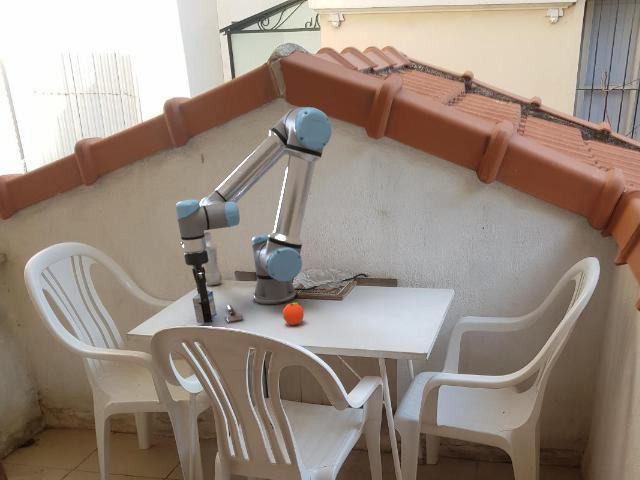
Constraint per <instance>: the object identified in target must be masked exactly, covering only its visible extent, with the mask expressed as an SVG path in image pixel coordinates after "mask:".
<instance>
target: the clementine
mask: <svg viewBox="0 0 640 480" xmlns="http://www.w3.org/2000/svg"><path fill="white" fill-rule="evenodd" d="M304 317H305V311H304V309H303V307H302V306H301V303H300V302H291V303H288V304H287V305H286V306H285V307H284V308H283V311H282V318H283V319H284V321H285V322H286V323H287V324H288V325H291V326H294V325H295V326H296V325H298V324H300V323H301V322H302V321H303V320H304Z"/></svg>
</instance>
